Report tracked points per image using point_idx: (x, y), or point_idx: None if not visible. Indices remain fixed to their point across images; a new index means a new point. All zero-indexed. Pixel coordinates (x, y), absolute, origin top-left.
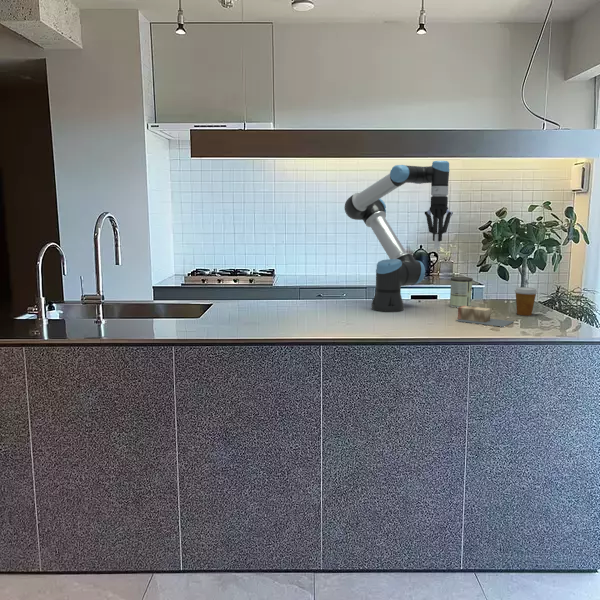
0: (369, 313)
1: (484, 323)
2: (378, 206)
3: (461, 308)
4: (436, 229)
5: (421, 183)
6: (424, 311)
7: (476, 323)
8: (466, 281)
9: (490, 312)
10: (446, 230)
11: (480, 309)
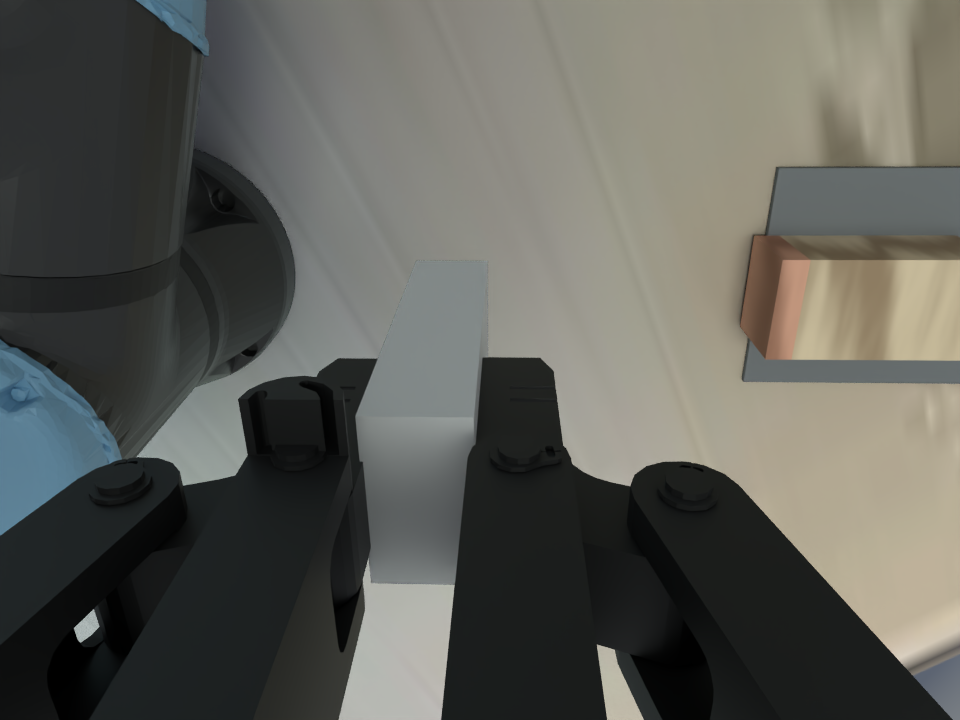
0: (204, 460)
1: (929, 362)
2: None
3: (789, 357)
4: (331, 616)
5: None
6: (426, 170)
7: (879, 382)
8: None
9: None
10: (763, 542)
11: (933, 339)
